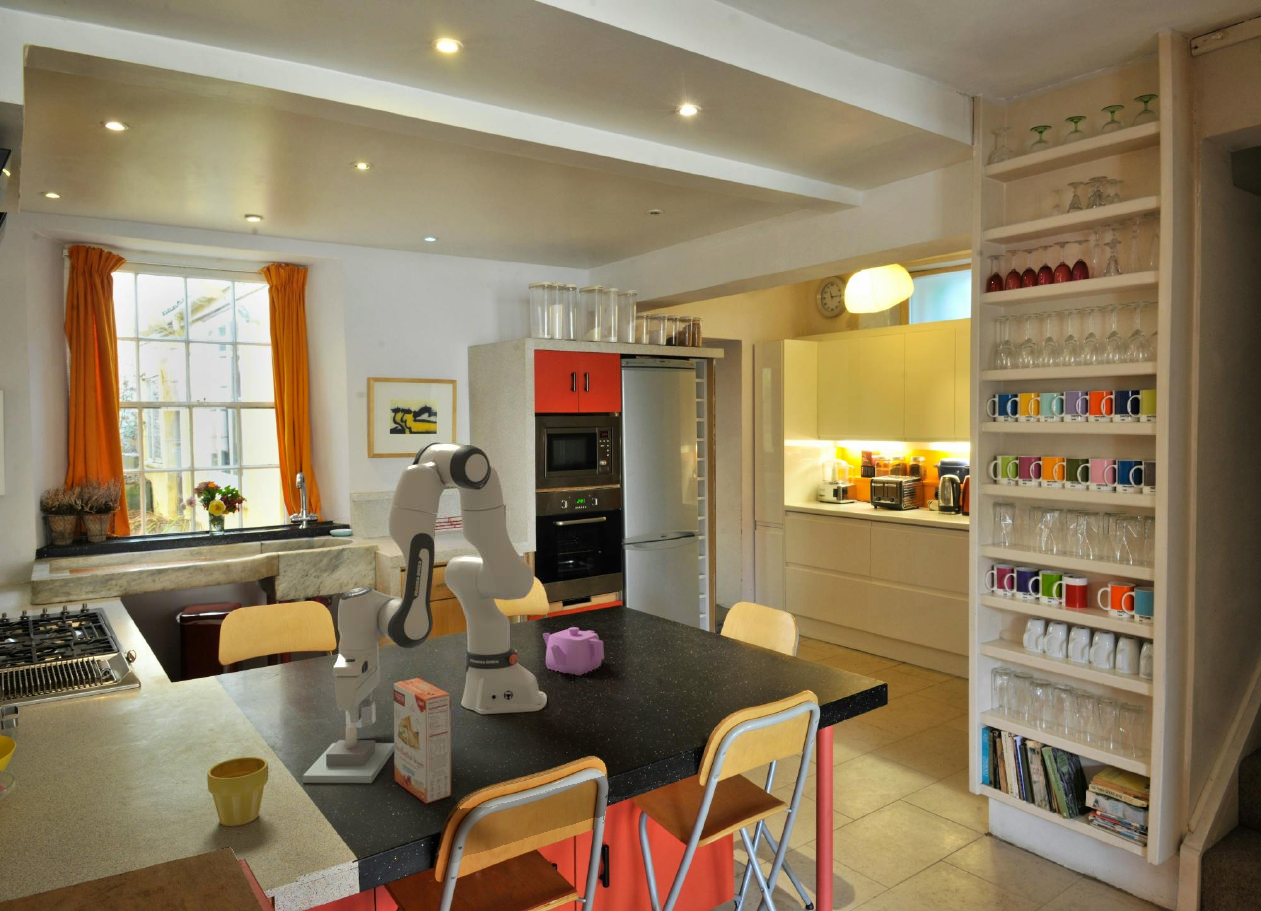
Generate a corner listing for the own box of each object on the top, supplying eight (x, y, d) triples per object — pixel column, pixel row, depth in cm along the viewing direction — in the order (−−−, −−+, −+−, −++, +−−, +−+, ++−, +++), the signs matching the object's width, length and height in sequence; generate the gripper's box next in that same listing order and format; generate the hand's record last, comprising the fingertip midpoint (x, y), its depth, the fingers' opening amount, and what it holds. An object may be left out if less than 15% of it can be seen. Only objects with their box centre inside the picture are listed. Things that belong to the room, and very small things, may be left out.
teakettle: (606, 674, 253) (606, 633, 253) (549, 677, 249) (549, 636, 249) (595, 659, 270) (595, 620, 270) (541, 662, 266) (542, 622, 266)
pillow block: (394, 749, 193) (394, 712, 193) (371, 782, 175) (371, 742, 175) (332, 749, 193) (332, 712, 193) (303, 782, 175) (302, 741, 175)
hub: (378, 717, 203) (377, 699, 203) (369, 727, 197) (369, 708, 197) (352, 717, 203) (351, 699, 203) (343, 727, 197) (342, 708, 197)
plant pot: (194, 825, 156) (193, 773, 156) (238, 802, 166) (238, 752, 165) (238, 835, 152) (237, 781, 152) (281, 811, 162) (280, 760, 162)
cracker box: (392, 782, 176) (392, 681, 175) (419, 774, 180) (419, 676, 179) (424, 805, 165) (424, 698, 164) (452, 797, 169) (452, 692, 168)
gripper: (360, 644, 210) (361, 700, 210) (329, 671, 189) (331, 732, 190) (385, 644, 209) (387, 699, 210) (358, 671, 189) (359, 732, 190)
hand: (360, 715), depth 200 cm, fingers closed on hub, 6 cm apart
